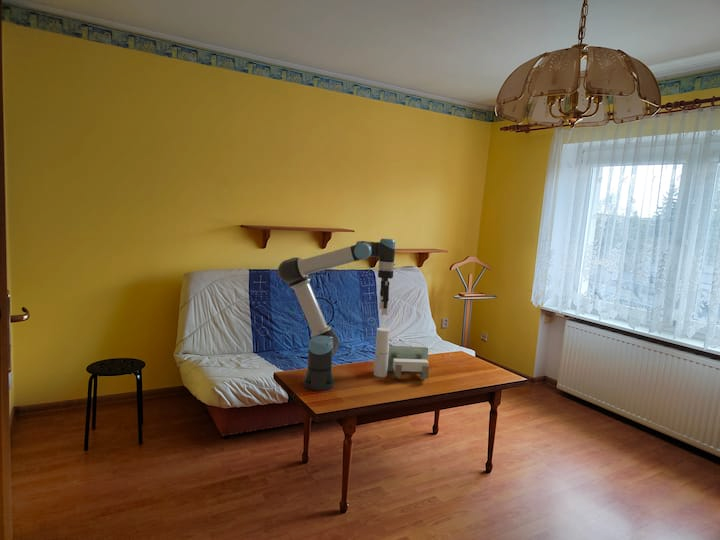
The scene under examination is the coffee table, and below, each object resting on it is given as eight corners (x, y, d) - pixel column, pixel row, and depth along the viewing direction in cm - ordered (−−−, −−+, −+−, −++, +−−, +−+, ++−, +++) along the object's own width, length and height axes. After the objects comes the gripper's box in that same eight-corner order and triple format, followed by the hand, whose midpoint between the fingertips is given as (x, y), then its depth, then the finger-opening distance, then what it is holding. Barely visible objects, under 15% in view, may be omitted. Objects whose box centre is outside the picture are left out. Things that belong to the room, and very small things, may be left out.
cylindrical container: (386, 377, 245) (389, 331, 242) (372, 376, 246) (375, 330, 243) (387, 373, 252) (391, 328, 249) (375, 371, 253) (378, 327, 250)
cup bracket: (389, 382, 239) (391, 355, 237) (386, 370, 257) (388, 345, 255) (432, 384, 239) (434, 357, 238) (425, 371, 258) (427, 347, 256)
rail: (394, 370, 242) (394, 361, 241) (392, 367, 246) (393, 358, 246) (428, 371, 243) (428, 362, 243) (426, 368, 248) (426, 359, 248)
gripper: (396, 273, 219) (393, 317, 221) (390, 267, 243) (388, 307, 246) (380, 272, 218) (377, 316, 221) (376, 266, 243) (374, 306, 246)
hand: (383, 311), depth 233 cm, fingers open, 13 cm apart
